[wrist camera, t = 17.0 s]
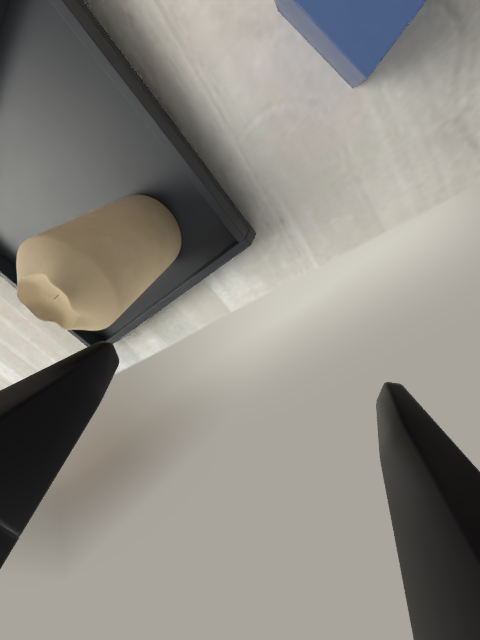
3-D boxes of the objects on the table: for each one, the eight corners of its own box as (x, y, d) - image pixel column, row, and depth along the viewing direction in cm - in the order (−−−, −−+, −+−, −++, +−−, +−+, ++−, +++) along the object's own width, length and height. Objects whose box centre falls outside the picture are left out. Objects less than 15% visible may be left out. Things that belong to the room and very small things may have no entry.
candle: (164, 184, 18) (49, 237, 10) (193, 260, 21) (120, 345, 13) (100, 203, 20) (-37, 259, 12) (135, 270, 23) (42, 350, 15)
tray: (256, 234, 19) (251, 245, 18) (109, 342, 31) (97, 355, 29) (28, -73, 13) (-14, -100, 11) (-53, 204, 24) (-80, 211, 23)
